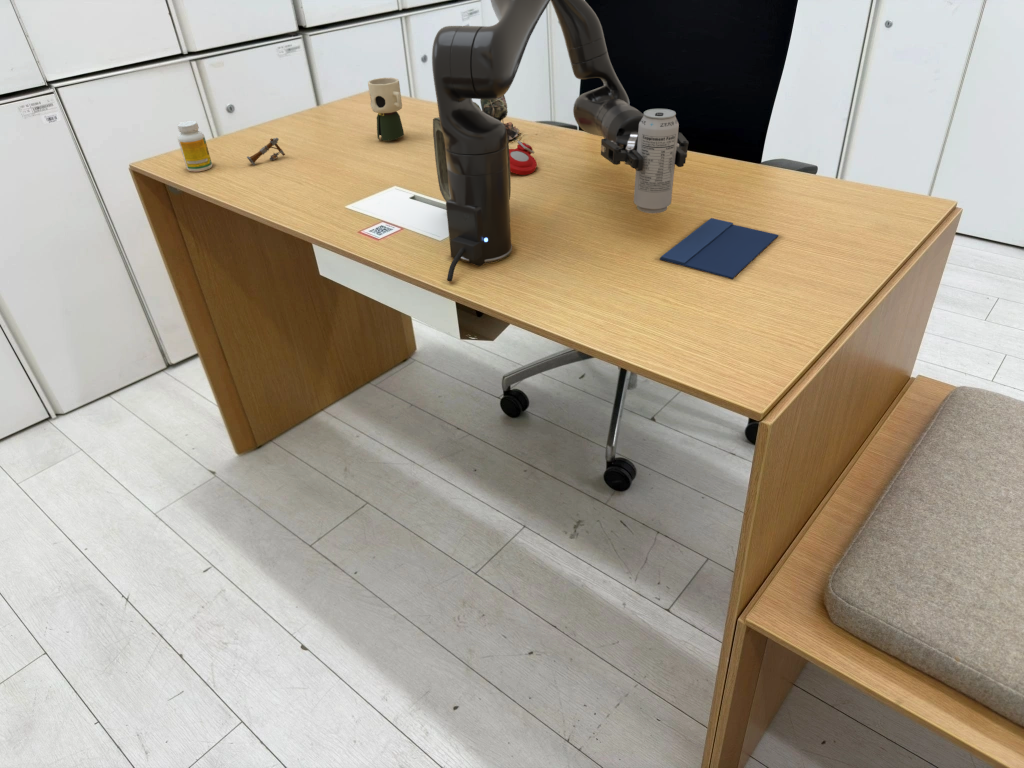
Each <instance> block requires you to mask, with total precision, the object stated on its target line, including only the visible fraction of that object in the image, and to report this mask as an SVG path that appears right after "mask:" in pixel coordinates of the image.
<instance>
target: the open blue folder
mask: <svg viewBox="0 0 1024 768" xmlns="http://www.w3.org/2000/svg"><path fill="white" fill-rule="evenodd" d="M778 237H779V234H776V233H771V232H768V231H762V230H759V229H756V228H755V229H754V228H750V227H746V226H741V225H737V224H734V222H731V221H727V220H723V219H718V218H713V217H711V218H709V219H708V220H707V221H705V222H704V223H703V224H701V225H700V226H699V227H697V228H696V229H695V230H693V231H692V232H691V233H690V234H688V235H687V236H686V237H685V238H683V239H682V240H680V241H679V242H678V243H677V244H675V245H674V246H673V247H671V248H670V249H669V250H667V251H666V252H665V253H664V254H662V255H661V256H660V257H659V260H660V261H663V262H667V263H671V264H674V265H677V266H678V265H679V266H682V267H686V268H690V269H693V270H696V271H700V272H704V273H708V274H712V275H715V276H719V277H723V278H725V279H730V280H733V279H734V278H735V277H736V276H738V275H739V274H740V273H741V272H742V271H743V270H744V269H745V268H746V267H747V266H748V265H750V264H751V263H752V262H753V261H754V260H755V259H756V258H757V257H758V256H759V255H760V254H761V253H762V252H763V251H764V250H765V249H767V248H768V246H770V245H771V244H773V242H775V240H776V239H777V238H778Z"/></svg>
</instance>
